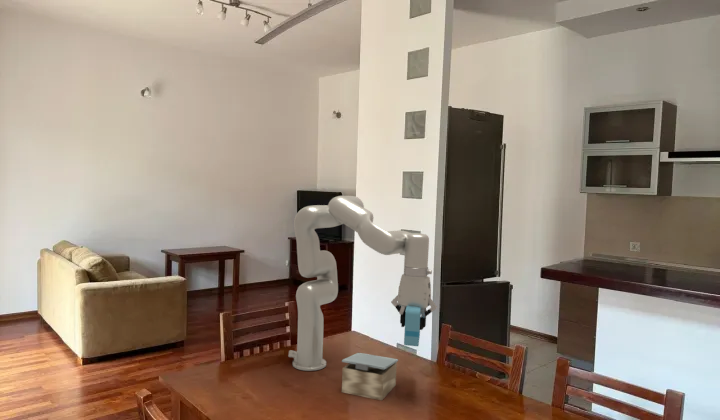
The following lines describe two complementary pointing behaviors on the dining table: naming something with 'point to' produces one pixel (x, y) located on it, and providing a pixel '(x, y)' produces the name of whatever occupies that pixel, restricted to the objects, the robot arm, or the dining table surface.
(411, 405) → the dining table surface
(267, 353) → the dining table surface
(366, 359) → the box lid
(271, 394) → the dining table surface
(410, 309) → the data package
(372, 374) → the open box
